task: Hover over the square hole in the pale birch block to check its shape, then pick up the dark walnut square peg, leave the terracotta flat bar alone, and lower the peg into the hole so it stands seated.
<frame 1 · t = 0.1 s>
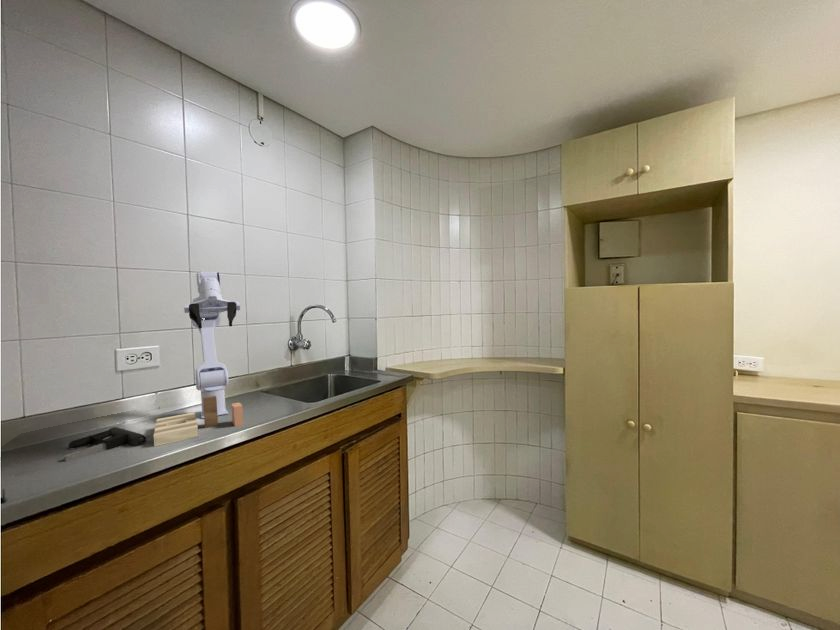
hand: (215, 324, 99), 32 cm above the counter, tool tilted 50°, fingers open, 7 cm apart
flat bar: (237, 423, 110), on the counter
walnut peg: (211, 425, 109), on the counter
socket block: (176, 432, 104), on the counter
door handle: (101, 449, 94), on the counter
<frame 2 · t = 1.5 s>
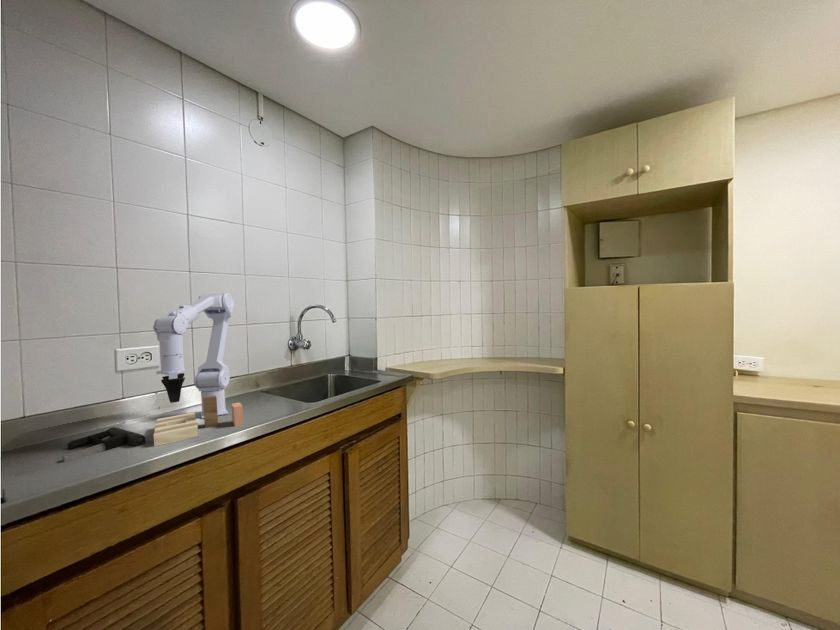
hand: (174, 399, 103), 10 cm above the counter, tool pointing down, fingers open, 7 cm apart
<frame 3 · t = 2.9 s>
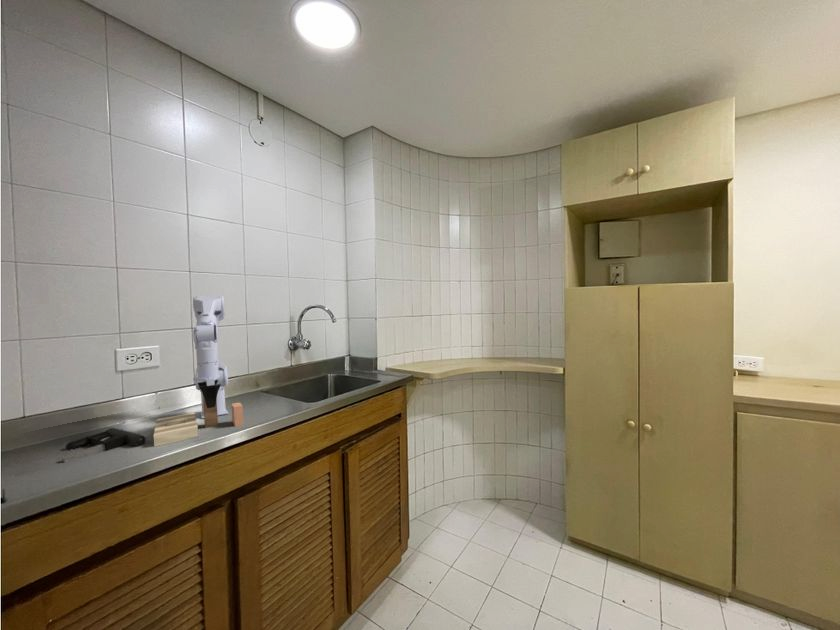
hand: (210, 405, 109), 6 cm above the counter, tool pointing down, fingers open, 7 cm apart
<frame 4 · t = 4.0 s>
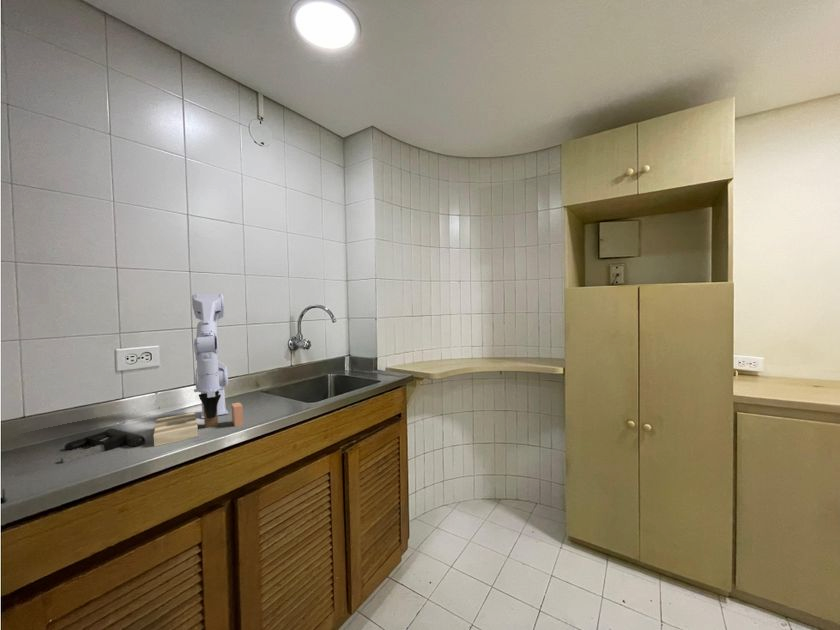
hand: (210, 416, 109), 3 cm above the counter, tool pointing down, fingers closed on walnut peg, 3 cm apart
walnut peg: (211, 425, 109), on the counter, touching gripper
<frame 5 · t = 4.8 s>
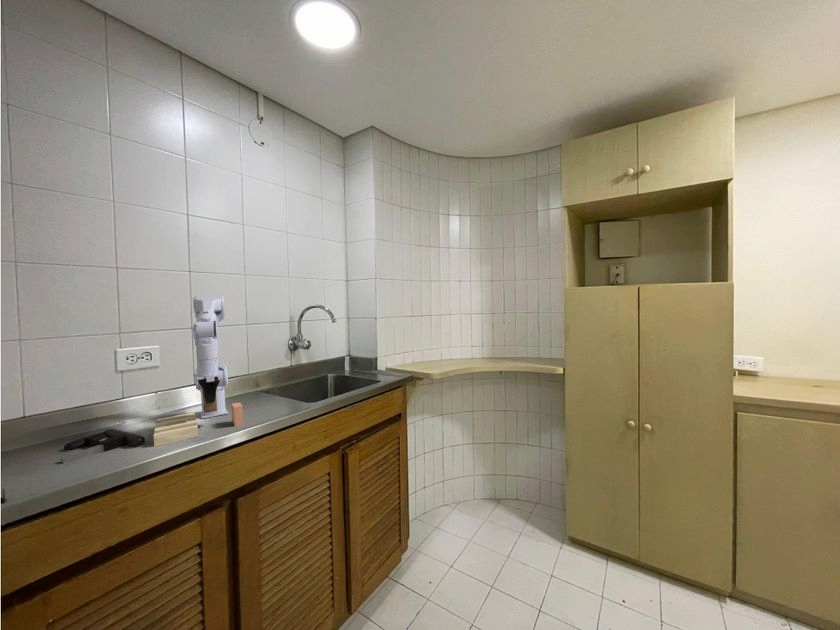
hand: (209, 401, 109), 8 cm above the counter, tool pointing down, fingers closed on walnut peg, 3 cm apart
walnut peg: (210, 410, 109), point 5 cm above the counter, touching gripper
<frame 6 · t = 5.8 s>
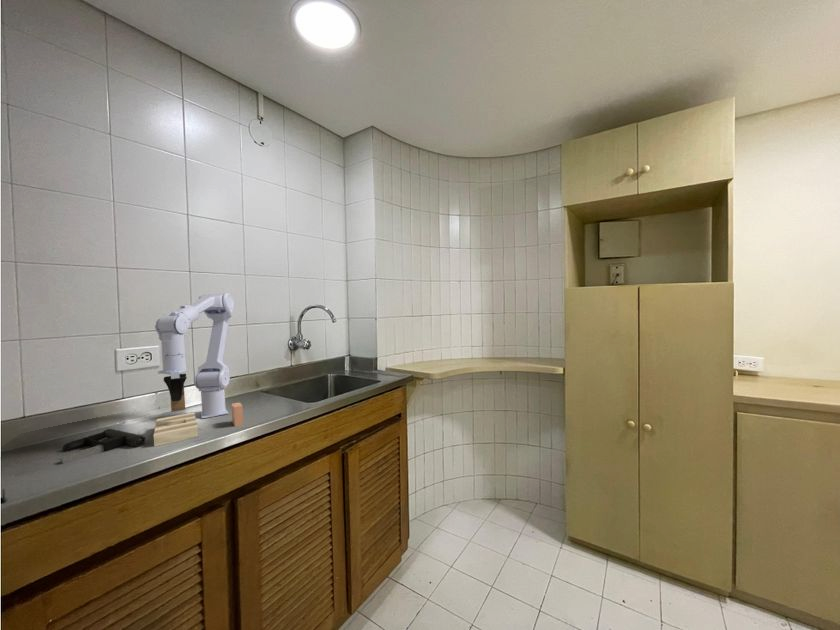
hand: (176, 399, 104), 10 cm above the counter, tool pointing down, fingers closed on walnut peg, 3 cm apart
walnut peg: (178, 409, 104), point 7 cm above the counter, touching gripper
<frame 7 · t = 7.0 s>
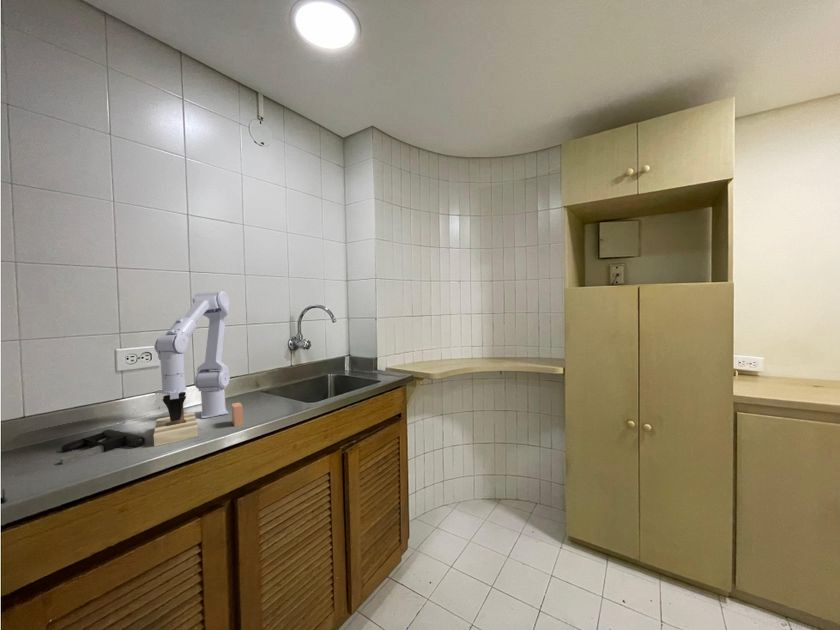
hand: (175, 418, 103), 4 cm above the counter, tool pointing down, fingers closed on walnut peg, 3 cm apart
walnut peg: (177, 428, 104), point 1 cm above the counter, touching gripper
when the fingers open (4 cm above the counter, at t = 7.3 s): walnut peg drops 1 cm, resting in socket block.
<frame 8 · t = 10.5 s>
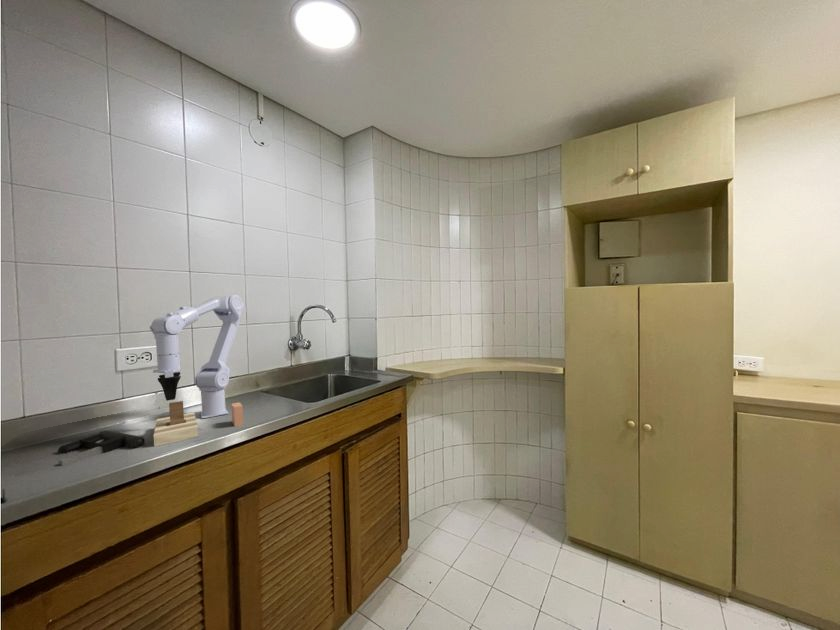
hand: (170, 397, 107), 10 cm above the counter, tool pointing down, fingers open, 7 cm apart
walnut peg: (177, 432, 104), resting in socket block
at the end: walnut peg 0.3 cm off-centre on the socket block, point 0.0 cm above the socket block's base; walnut peg tilted 0°; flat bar moved 0.1 cm from its start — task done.
